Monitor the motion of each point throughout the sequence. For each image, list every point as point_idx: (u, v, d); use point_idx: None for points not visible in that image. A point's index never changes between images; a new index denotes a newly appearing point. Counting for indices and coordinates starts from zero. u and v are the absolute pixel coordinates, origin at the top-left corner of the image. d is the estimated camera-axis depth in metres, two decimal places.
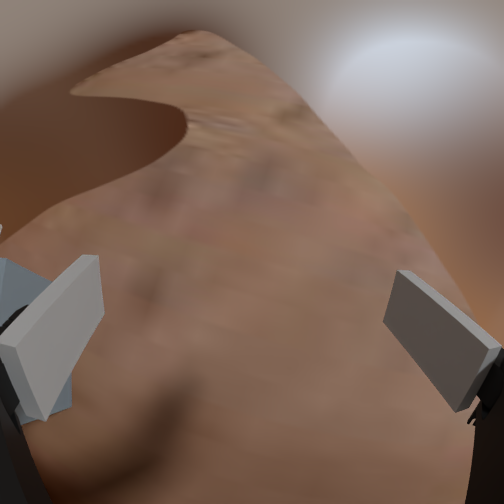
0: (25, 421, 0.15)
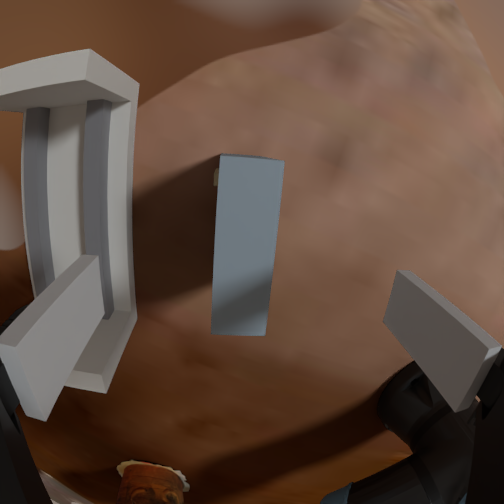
0: None
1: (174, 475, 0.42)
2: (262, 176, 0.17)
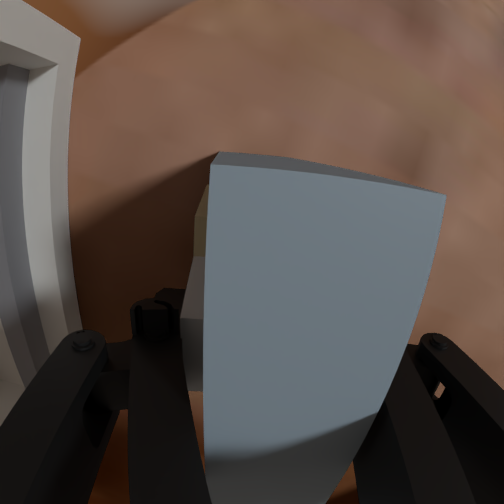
0: None
1: None
2: (375, 253, 0.04)
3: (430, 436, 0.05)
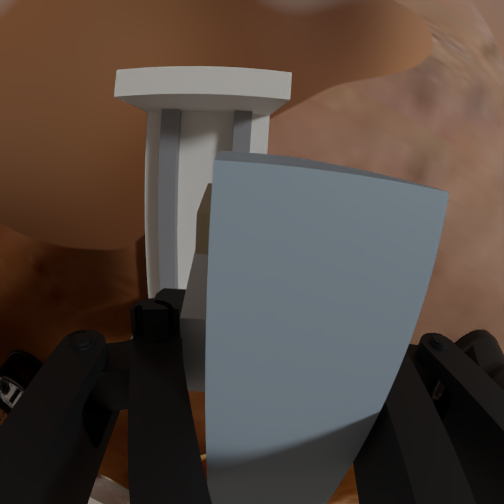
0: None
1: None
2: (378, 249, 0.04)
3: (430, 436, 0.05)
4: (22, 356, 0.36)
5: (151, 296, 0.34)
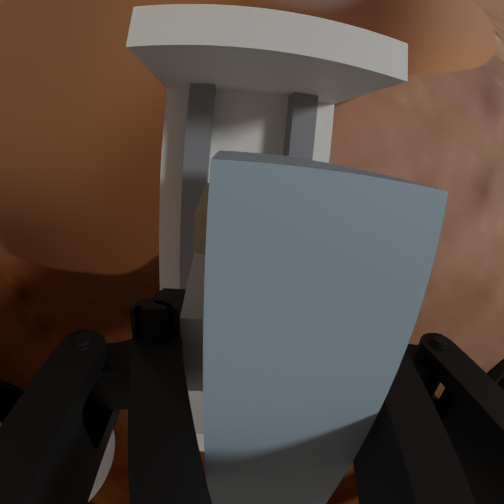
0: None
1: None
2: (377, 249, 0.04)
3: (430, 436, 0.05)
4: (7, 390, 0.28)
5: None
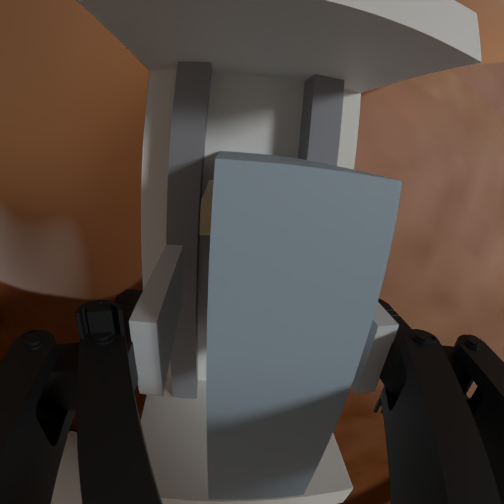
0: None
1: None
2: (342, 226, 0.06)
3: (463, 433, 0.04)
4: None
5: None
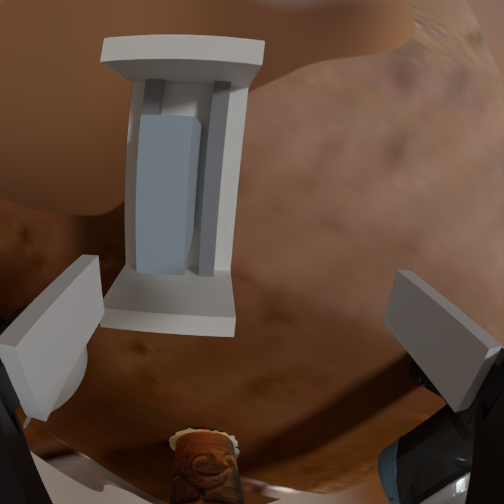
0: (187, 256, 0.25)
1: (228, 441, 0.48)
2: (174, 130, 0.19)
3: None
4: None
5: (128, 261, 0.34)
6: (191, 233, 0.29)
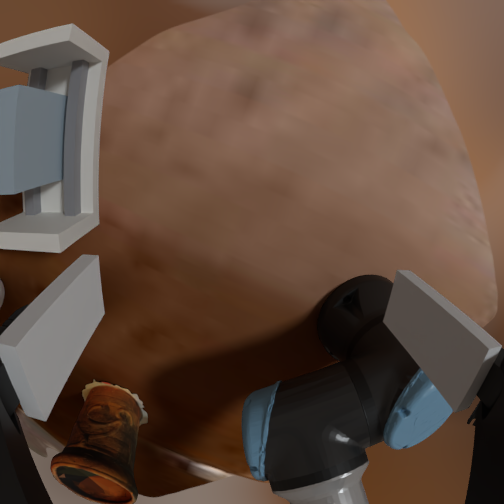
0: (31, 187, 0.27)
1: (131, 399, 0.49)
2: (10, 95, 0.20)
3: None
4: None
5: (25, 209, 0.35)
6: (48, 175, 0.30)
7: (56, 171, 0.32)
